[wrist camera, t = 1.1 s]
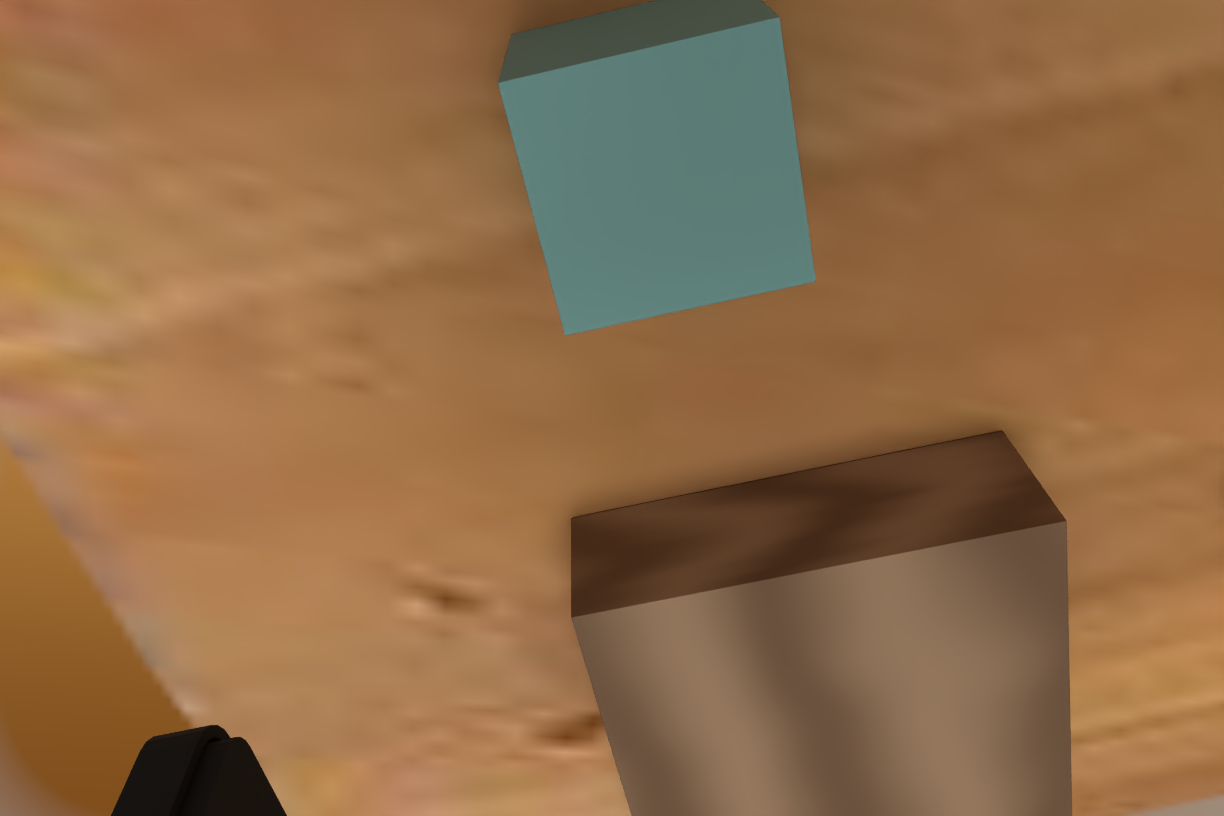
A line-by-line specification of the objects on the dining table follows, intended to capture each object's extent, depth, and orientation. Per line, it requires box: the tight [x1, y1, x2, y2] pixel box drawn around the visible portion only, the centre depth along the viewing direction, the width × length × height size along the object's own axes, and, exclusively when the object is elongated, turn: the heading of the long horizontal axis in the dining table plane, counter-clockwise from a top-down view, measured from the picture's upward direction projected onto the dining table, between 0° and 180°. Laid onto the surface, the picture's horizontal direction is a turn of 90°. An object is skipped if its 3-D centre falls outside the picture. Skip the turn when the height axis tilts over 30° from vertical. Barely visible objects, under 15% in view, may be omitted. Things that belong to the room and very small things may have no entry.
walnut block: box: [571, 431, 1072, 816], centre depth 36 cm, size 14×14×5 cm
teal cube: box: [498, 0, 816, 336], centre depth 26 cm, size 6×6×6 cm
